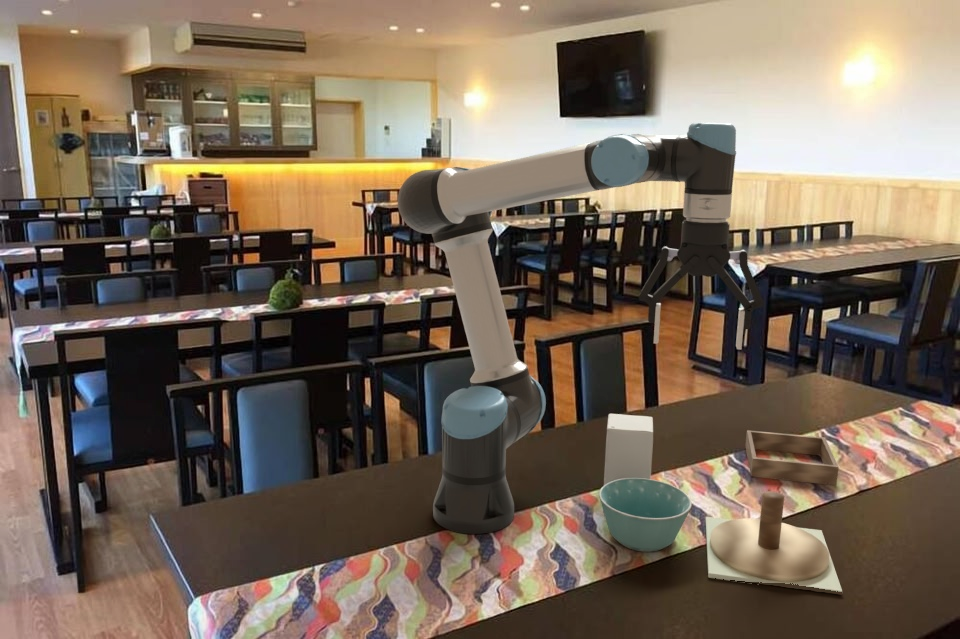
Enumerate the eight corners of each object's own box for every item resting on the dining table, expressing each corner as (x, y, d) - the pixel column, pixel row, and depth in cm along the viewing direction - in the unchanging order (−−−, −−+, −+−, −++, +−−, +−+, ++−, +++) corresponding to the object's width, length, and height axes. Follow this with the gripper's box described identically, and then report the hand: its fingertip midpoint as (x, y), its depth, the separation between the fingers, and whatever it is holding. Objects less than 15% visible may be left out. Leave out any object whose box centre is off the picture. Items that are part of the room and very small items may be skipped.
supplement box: (649, 505, 153) (654, 432, 150) (602, 500, 155) (605, 428, 152) (649, 485, 162) (653, 415, 159) (604, 481, 164) (608, 412, 160)
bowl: (704, 539, 141) (708, 496, 139) (657, 573, 130) (661, 527, 128) (629, 510, 151) (631, 470, 149) (579, 540, 140) (581, 496, 138)
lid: (710, 571, 129) (715, 513, 126) (709, 518, 147) (713, 466, 144) (837, 589, 124) (844, 529, 122) (820, 532, 142) (826, 479, 139)
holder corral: (751, 476, 167) (752, 458, 166) (745, 446, 182) (746, 430, 181) (836, 485, 163) (838, 467, 162) (823, 454, 178) (825, 437, 177)
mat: (708, 577, 129) (708, 573, 128) (705, 520, 147) (705, 516, 147) (841, 595, 124) (842, 591, 124) (821, 534, 143) (821, 530, 143)
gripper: (627, 219, 130) (621, 344, 135) (789, 224, 124) (776, 355, 129) (630, 214, 137) (624, 334, 142) (783, 219, 131) (771, 344, 136)
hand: (696, 344), depth 136 cm, fingers open, 13 cm apart
